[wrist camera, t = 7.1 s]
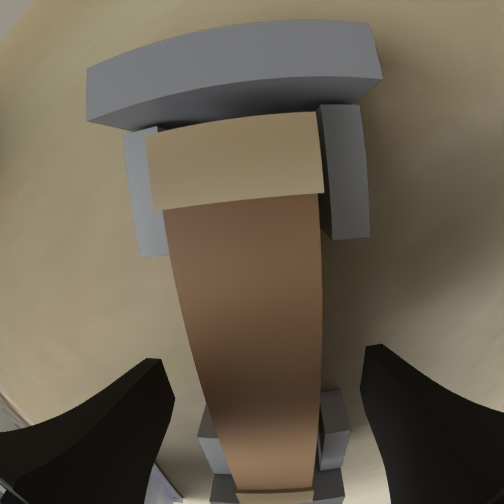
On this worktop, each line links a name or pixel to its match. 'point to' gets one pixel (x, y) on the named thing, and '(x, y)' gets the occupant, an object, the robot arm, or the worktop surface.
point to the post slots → (244, 105)
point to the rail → (250, 287)
